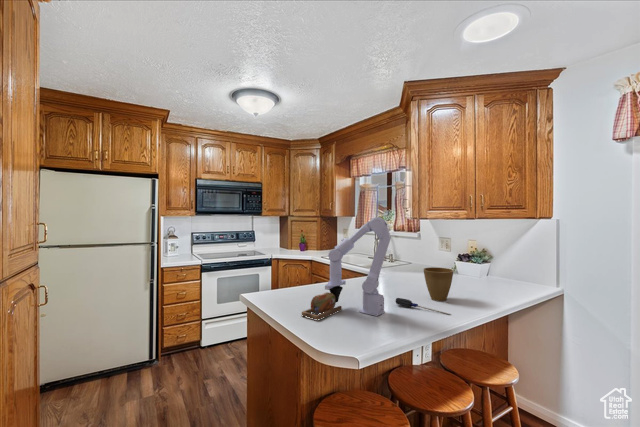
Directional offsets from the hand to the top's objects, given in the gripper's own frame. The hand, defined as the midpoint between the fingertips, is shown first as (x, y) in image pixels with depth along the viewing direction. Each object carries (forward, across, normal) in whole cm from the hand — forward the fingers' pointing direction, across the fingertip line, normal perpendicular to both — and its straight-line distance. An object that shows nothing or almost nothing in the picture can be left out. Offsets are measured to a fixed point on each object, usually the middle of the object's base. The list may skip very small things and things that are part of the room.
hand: (335, 301), depth 144 cm
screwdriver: (+3, -24, +34) cm, 41 cm away
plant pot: (+3, -47, +34) cm, 58 cm away
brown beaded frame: (+3, +10, 0) cm, 10 cm away
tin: (+3, +9, -1) cm, 9 cm away
